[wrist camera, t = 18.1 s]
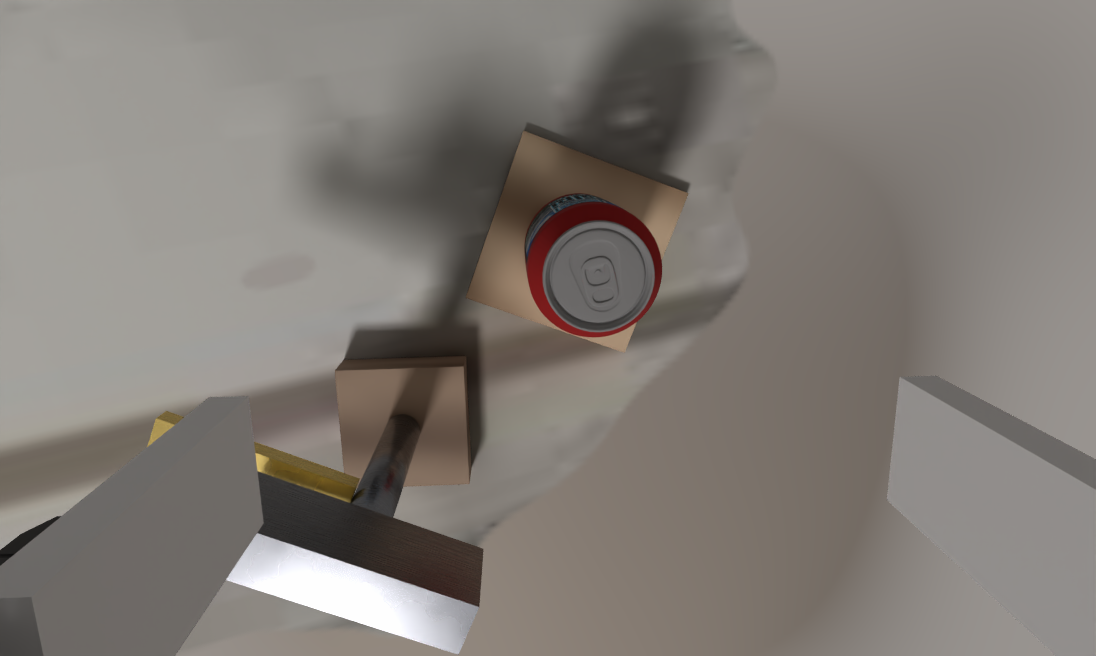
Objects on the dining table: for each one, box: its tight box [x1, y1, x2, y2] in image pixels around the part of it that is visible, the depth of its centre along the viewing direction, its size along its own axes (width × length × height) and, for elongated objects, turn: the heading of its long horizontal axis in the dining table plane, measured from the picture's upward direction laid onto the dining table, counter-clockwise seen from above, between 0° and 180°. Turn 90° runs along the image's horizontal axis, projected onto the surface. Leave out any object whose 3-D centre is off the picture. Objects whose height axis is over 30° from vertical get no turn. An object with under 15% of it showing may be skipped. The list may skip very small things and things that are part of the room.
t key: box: [147, 411, 483, 654], centre depth 37 cm, size 16×2×17 cm, turn 68°
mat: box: [466, 131, 688, 353], centre depth 46 cm, size 11×11×1 cm
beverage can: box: [524, 193, 662, 337], centre depth 40 cm, size 7×7×12 cm
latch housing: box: [335, 356, 471, 488], centre depth 47 cm, size 8×8×2 cm
